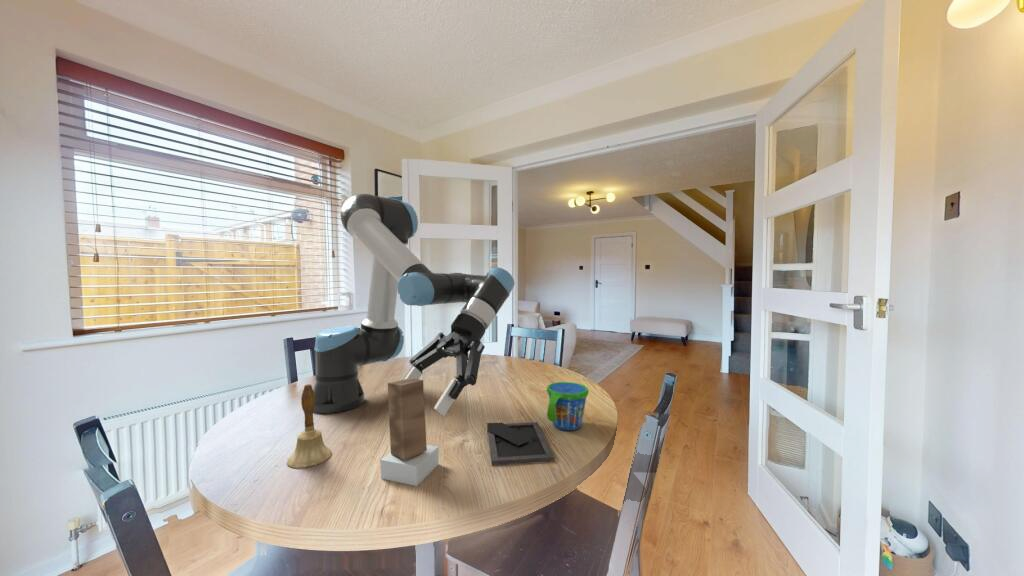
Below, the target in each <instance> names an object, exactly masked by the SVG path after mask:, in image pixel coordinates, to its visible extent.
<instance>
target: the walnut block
mask: <svg viewBox="0 0 1024 576" xmlns="http://www.w3.org/2000/svg"><path fill="white" fill-rule="evenodd" d="M424 391H425V389H424V380H423V379H420V378H419V379H412V378H408V379H404V378H403V379H399V380H396V381H390V382H387V398H388V417H389V418H388V421H389V440H390V441H389V442H390V453H391V454H392V455H394V456H396V457H399V458H401V459H403V460H406V459H408V458H411V457H413V456H415V455H418V454H420V453H423V452H425V451H427V445H428V444H427V429H426V427H427V426H426V409H425V408H426V407H425V392H424Z"/></svg>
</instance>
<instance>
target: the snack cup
mask: <svg viewBox="0 0 1024 576" xmlns="http://www.w3.org/2000/svg"><path fill="white" fill-rule="evenodd" d="M546 392H547V394H548V398H549V401H548V406H547V413H546V417H547V419H548V421H550V422H552V424H553V425H554V427H556V428H557V429H559V430H563V431H576V430H578V429H580V428H581V427H582V425H583V419H584V414H585V407H586V406H585V405H586V400H587V399H586V398H587V397H588V395H589V392H590V391H589V388H588V387H587V386H586V385H583V384H580V383H577V382H571V381H570V382H569V381H560V382H553V383H550V384H549V385H547V387H546Z"/></svg>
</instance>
